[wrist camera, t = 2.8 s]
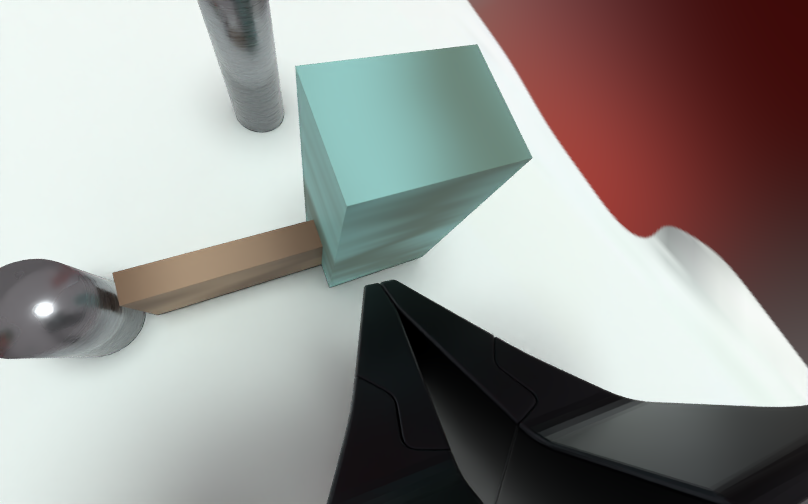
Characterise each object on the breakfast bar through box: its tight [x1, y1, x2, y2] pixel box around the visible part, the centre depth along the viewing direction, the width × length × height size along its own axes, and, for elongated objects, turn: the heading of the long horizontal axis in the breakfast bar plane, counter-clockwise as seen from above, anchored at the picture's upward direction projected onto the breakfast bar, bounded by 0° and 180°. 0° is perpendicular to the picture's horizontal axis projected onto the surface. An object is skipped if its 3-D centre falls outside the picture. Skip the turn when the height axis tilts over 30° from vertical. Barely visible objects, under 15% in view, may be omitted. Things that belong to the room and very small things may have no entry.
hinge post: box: [0, 259, 145, 359], centre depth 12 cm, size 3×3×4 cm
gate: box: [113, 44, 532, 315], centre depth 12 cm, size 12×4×10 cm, turn 112°
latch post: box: [197, 0, 284, 132], centre depth 14 cm, size 2×2×10 cm
